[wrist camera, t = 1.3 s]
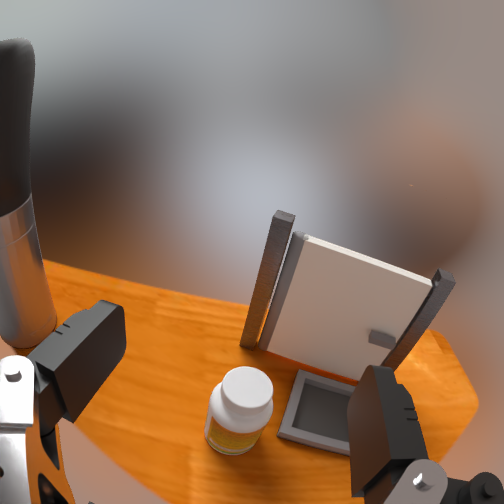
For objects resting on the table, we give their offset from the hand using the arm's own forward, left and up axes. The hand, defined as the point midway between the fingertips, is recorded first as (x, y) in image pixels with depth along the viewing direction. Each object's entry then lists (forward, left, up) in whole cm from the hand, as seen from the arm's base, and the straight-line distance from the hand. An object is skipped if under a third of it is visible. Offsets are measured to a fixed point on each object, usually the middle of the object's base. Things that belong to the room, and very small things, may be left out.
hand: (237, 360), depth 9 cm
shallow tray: (+9, +13, -22) cm, 27 cm away
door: (+6, +20, -21) cm, 30 cm away
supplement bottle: (0, +7, -22) cm, 23 cm away
